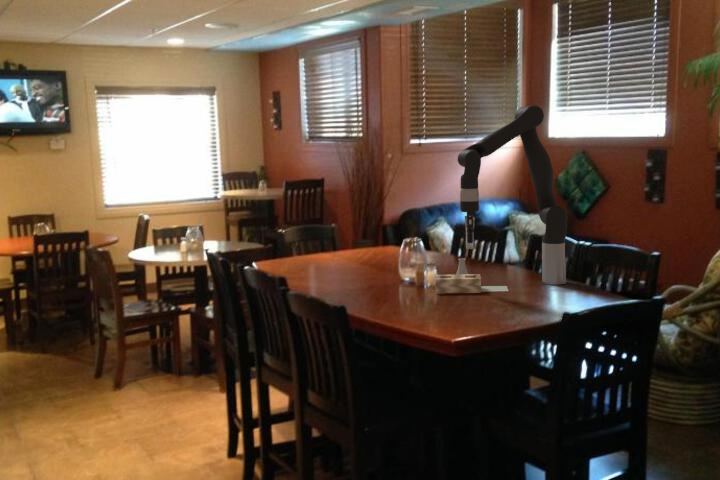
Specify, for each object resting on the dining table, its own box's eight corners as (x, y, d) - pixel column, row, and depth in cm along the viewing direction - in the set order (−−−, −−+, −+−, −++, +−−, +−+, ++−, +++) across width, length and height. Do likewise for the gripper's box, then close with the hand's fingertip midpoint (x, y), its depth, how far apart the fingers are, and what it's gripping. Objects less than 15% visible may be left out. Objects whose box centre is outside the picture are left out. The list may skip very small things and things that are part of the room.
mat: (506, 286, 298) (506, 285, 298) (508, 292, 288) (508, 291, 288) (477, 287, 299) (477, 286, 299) (478, 292, 290) (478, 291, 290)
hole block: (480, 288, 297) (479, 274, 296) (481, 293, 288) (481, 278, 287) (436, 288, 300) (436, 274, 299) (436, 294, 290) (435, 279, 289)
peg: (473, 248, 292) (473, 223, 290) (473, 249, 289) (473, 224, 287) (466, 248, 292) (465, 223, 291) (466, 249, 289) (465, 224, 288)
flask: (470, 283, 309) (470, 260, 307) (453, 283, 310) (453, 260, 309) (471, 279, 316) (470, 257, 314) (454, 279, 317) (454, 257, 316)
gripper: (479, 201, 280) (480, 244, 283) (478, 198, 294) (478, 239, 297) (460, 201, 281) (460, 245, 284) (459, 198, 295) (460, 239, 297)
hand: (469, 242), depth 290 cm, fingers closed on peg, 3 cm apart
